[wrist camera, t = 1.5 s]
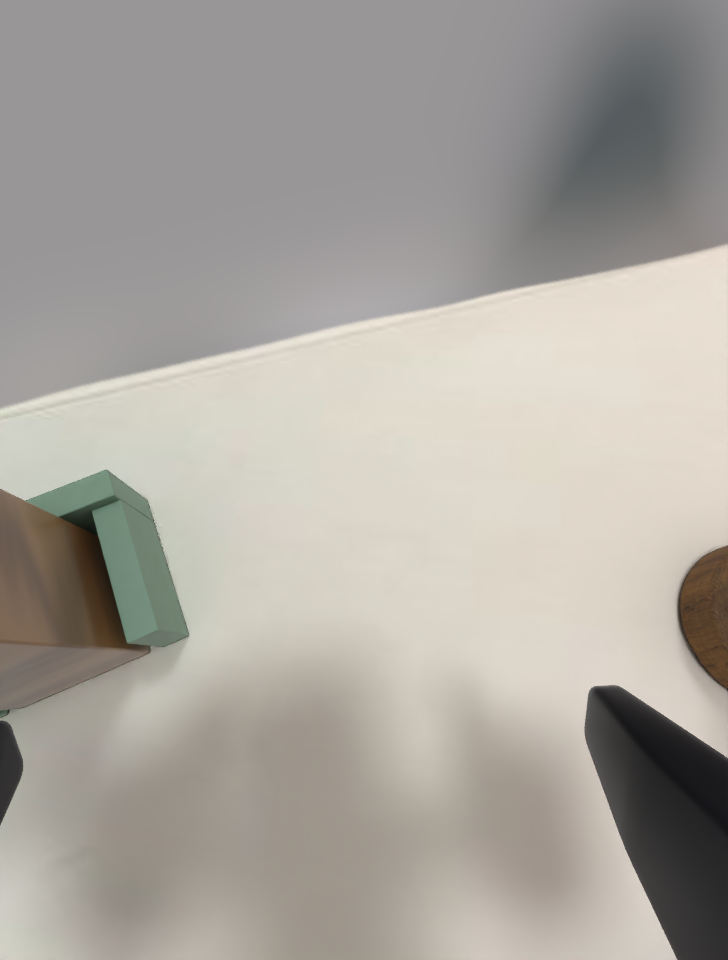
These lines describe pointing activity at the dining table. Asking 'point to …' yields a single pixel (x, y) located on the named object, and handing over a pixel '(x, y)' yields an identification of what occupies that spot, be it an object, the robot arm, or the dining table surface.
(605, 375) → the dining table surface
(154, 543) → the green u-shaped block
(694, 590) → the mortar and pestle
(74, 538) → the brown box
